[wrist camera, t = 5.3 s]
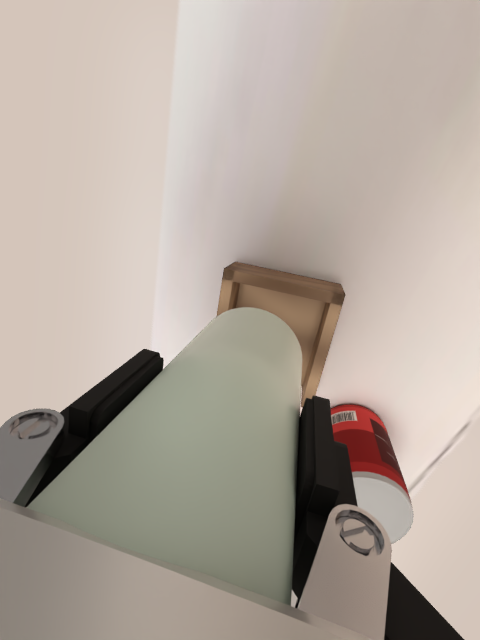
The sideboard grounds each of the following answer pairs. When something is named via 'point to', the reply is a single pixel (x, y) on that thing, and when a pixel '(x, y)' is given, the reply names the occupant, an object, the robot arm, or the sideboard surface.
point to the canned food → (374, 468)
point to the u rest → (289, 310)
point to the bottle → (201, 459)
